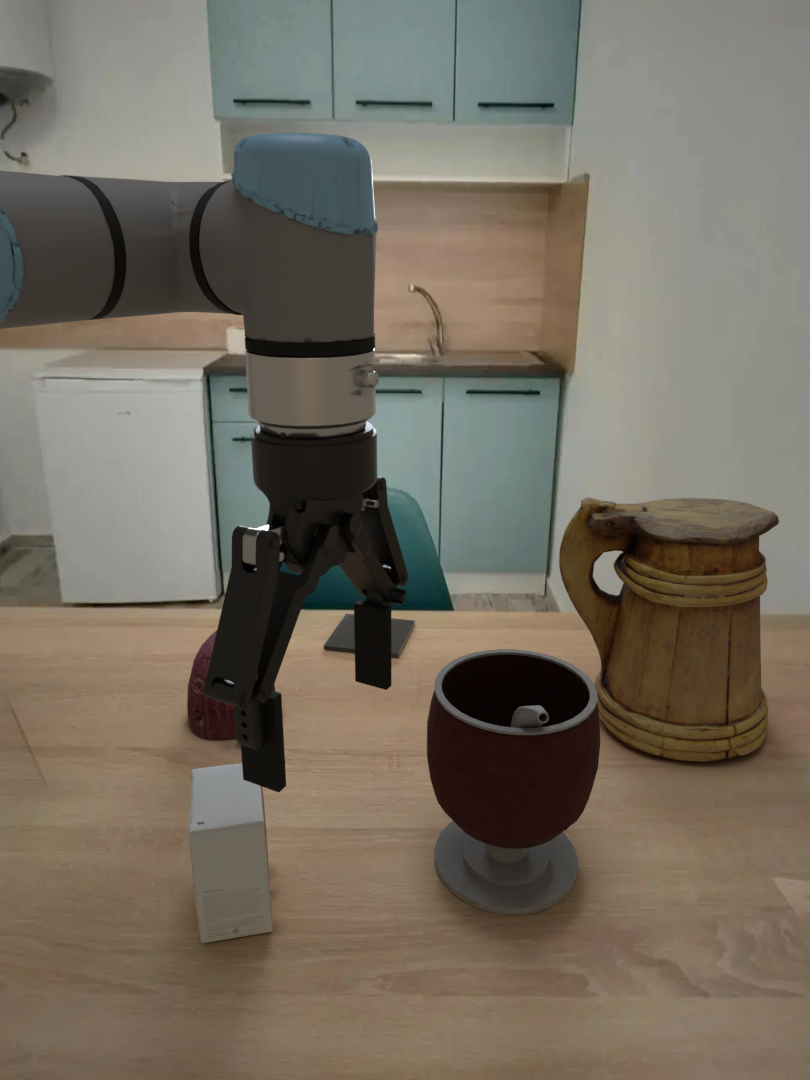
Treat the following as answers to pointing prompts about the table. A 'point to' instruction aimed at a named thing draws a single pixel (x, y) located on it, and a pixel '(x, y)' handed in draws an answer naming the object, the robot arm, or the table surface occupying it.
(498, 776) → the mate gourd
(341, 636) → the slate coaster
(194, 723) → the vegetable
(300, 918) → the table surface
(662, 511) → the tankard
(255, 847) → the small box
